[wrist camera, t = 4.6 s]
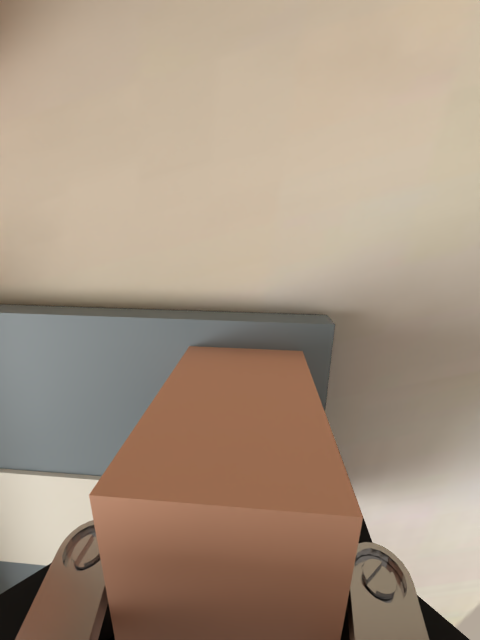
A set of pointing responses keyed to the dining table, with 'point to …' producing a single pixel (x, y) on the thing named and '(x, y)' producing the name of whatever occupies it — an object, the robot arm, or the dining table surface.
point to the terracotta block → (229, 507)
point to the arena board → (100, 402)
